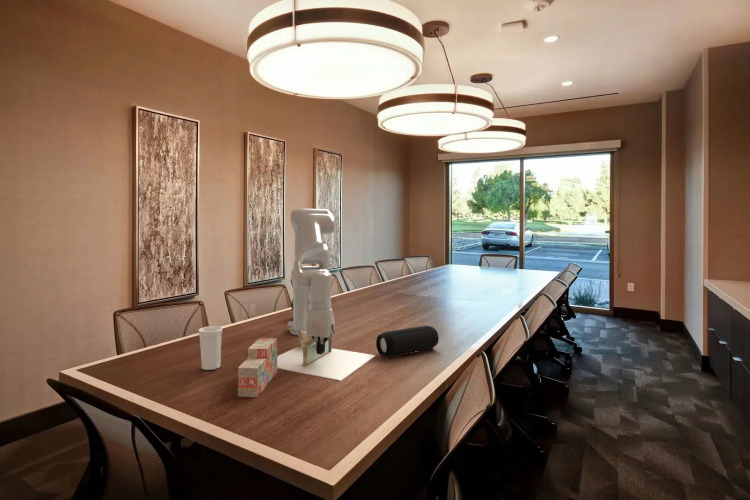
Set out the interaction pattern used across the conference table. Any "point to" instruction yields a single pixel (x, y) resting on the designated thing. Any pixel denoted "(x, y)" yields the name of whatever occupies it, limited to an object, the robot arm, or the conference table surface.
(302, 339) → the fixed fence section
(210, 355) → the cup
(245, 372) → the stack of blocks
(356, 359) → the card
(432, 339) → the portable speaker
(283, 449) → the conference table surface
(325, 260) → the robot arm
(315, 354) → the folding fence panel
